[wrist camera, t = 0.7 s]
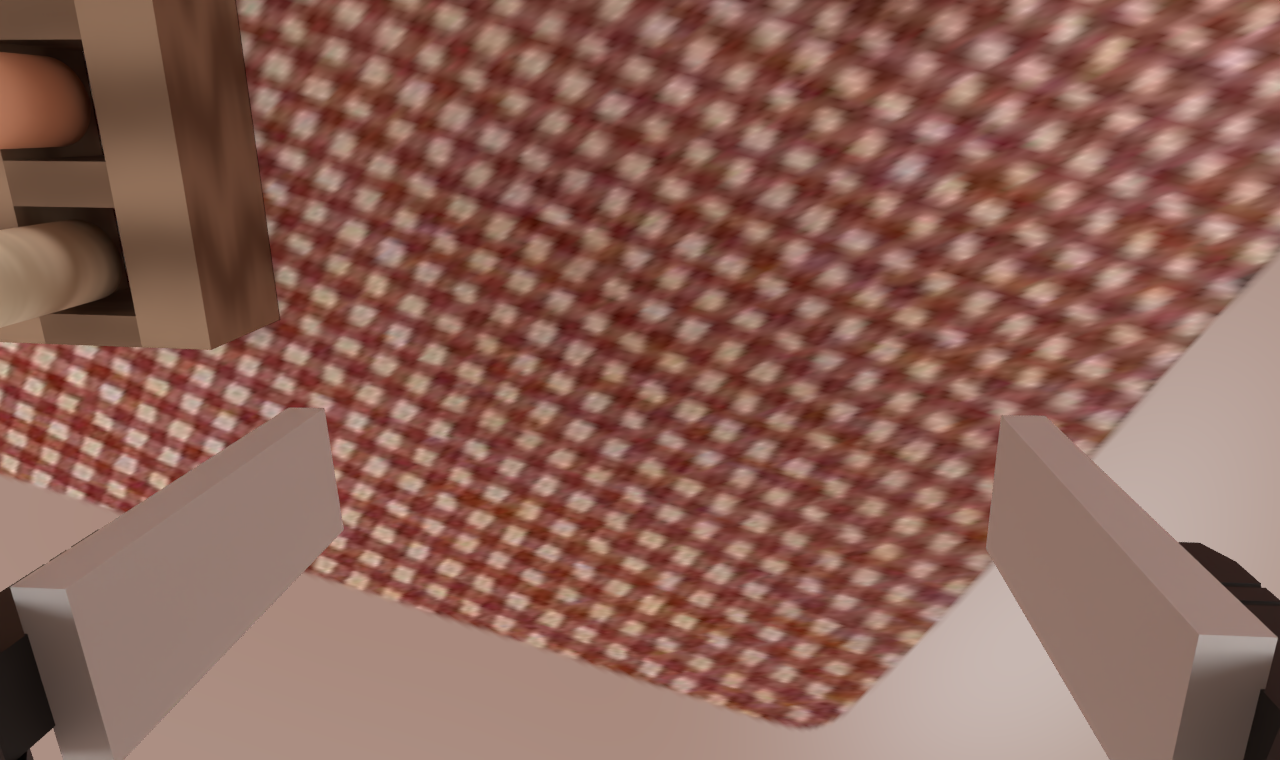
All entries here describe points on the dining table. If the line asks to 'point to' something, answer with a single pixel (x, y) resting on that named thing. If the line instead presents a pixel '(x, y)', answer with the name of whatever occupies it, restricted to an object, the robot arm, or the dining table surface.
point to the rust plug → (40, 103)
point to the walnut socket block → (149, 171)
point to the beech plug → (54, 268)
